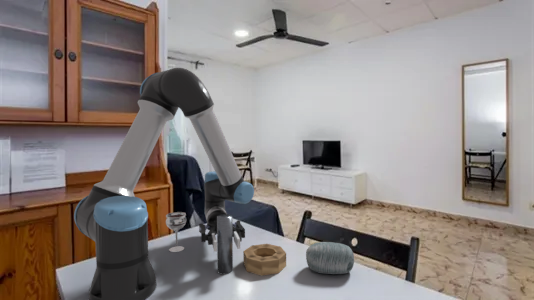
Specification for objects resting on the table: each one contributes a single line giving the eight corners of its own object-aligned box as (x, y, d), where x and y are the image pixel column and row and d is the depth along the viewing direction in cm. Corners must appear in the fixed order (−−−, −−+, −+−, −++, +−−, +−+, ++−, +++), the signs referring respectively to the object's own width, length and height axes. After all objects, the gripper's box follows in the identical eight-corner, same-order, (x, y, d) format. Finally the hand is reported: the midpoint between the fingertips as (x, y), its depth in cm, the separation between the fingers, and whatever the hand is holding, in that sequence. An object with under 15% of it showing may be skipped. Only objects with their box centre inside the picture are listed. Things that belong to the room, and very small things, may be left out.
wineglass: (168, 245, 101) (168, 212, 100) (188, 244, 102) (187, 211, 101) (164, 253, 94) (163, 218, 94) (185, 252, 95) (184, 217, 94)
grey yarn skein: (355, 253, 86) (348, 230, 82) (359, 281, 78) (351, 257, 74) (311, 258, 90) (302, 236, 86) (311, 286, 82) (301, 263, 78)
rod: (218, 275, 80) (217, 219, 79) (216, 267, 84) (216, 214, 83) (233, 272, 81) (233, 218, 80) (231, 265, 86) (231, 213, 85)
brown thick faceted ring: (249, 277, 79) (249, 263, 78) (241, 258, 90) (241, 246, 90) (290, 271, 82) (290, 258, 82) (277, 254, 94) (277, 242, 93)
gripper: (244, 228, 102) (260, 254, 80) (190, 233, 97) (192, 263, 75) (243, 207, 102) (260, 228, 80) (190, 211, 97) (191, 235, 74)
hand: (227, 245), depth 77 cm, fingers open, 6 cm apart
